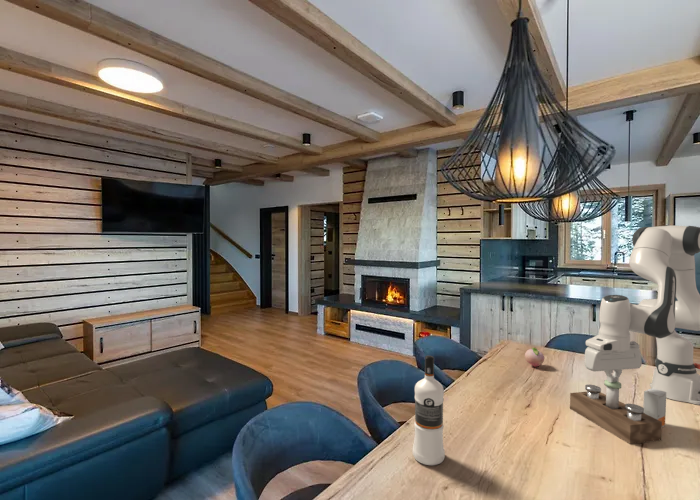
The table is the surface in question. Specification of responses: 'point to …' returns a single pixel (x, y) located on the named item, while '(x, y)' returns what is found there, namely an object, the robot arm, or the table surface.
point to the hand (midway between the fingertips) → (612, 381)
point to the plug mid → (612, 394)
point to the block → (616, 419)
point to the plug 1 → (593, 391)
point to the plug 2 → (634, 411)
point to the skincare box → (655, 404)
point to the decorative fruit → (534, 357)
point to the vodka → (429, 418)
